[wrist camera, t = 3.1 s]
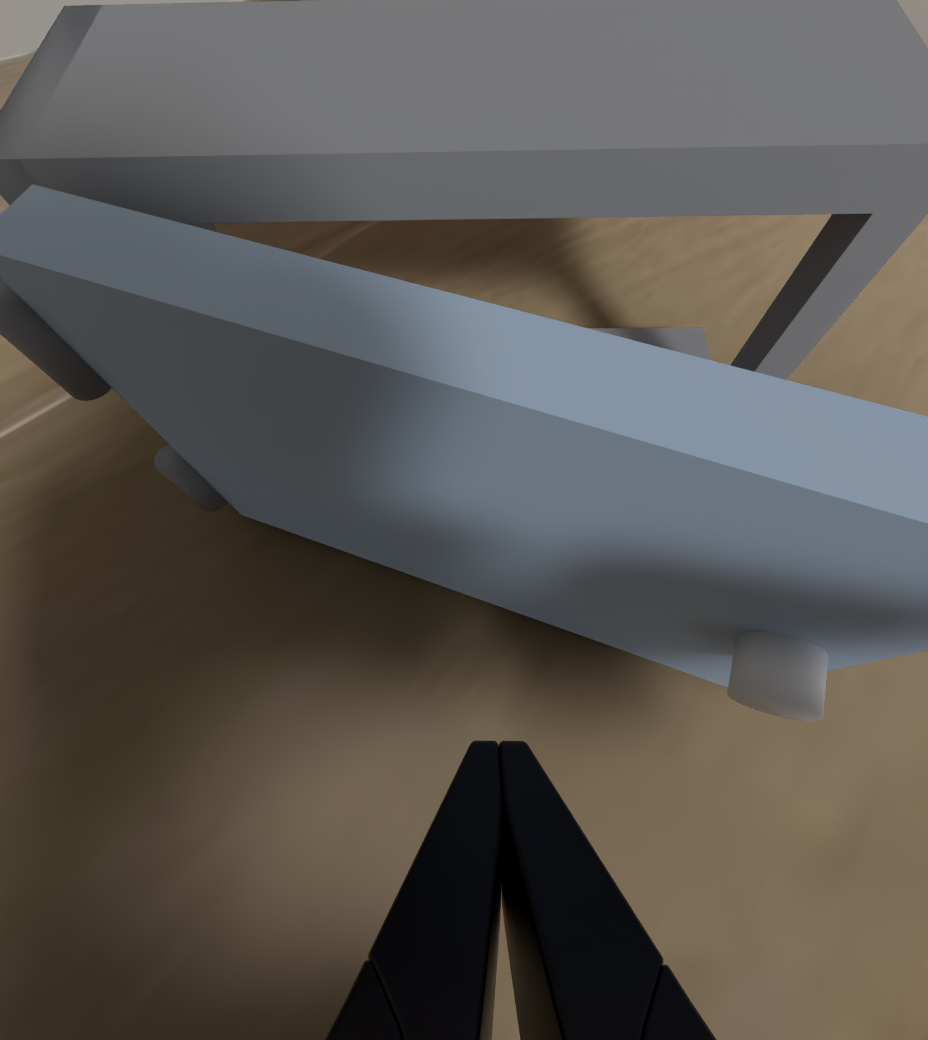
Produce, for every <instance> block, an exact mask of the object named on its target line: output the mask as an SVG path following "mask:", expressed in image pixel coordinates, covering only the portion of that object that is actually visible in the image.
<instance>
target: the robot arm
mask: <svg viewBox="0 0 928 1040" xmlns="http://www.w3.org/2000/svg"><path fill="white" fill-rule="evenodd" d="M501 893H502V907H503V916H504V924H505V932H506V939H507V946H508V953H509V960H510V968H511V975H512V982H513V989H514V996H515V1003H516V1011H517V1018H518V1025H519V1032H520V1039H521V1040H716V1038H715V1037H714V1035H713V1034H712V1032H711V1031H710V1029H709V1028H708V1026H707V1025H706V1023H705V1022H704V1020H703V1019H702V1017H701V1016H700V1014H699V1013H698V1011H697V1010H696V1008H695V1007H694V1005H693V1004H692V1002H691V1001H690V999H689V998H688V996H687V995H686V993H685V991H684V990H683V988H682V987H681V985H680V983H679V982H678V980H677V979H676V977H675V976H674V974H673V972H672V971H671V969H670V968H669V966H667V965H663V957H662V956H661V954H660V952H659V951H658V949H657V948H656V946H655V945H654V943H653V941H652V940H651V938H650V937H649V935H648V934H647V932H646V930H645V929H644V927H643V926H642V924H641V923H640V921H639V919H638V918H637V916H636V915H635V913H634V912H633V910H632V908H631V907H630V905H629V904H628V902H627V901H626V899H625V897H624V896H623V894H622V893H621V891H620V889H619V888H618V886H617V885H616V883H615V882H614V880H613V878H612V877H611V875H610V874H609V872H608V871H607V869H606V867H605V866H604V864H603V863H602V861H601V860H600V858H599V856H598V855H597V853H596V852H595V850H594V849H593V847H592V845H591V844H590V842H589V841H588V839H587V837H586V836H585V834H584V833H583V831H582V830H581V828H580V826H579V825H578V823H577V822H576V820H575V819H574V817H573V815H572V814H571V812H570V811H569V809H568V808H567V806H566V804H565V803H564V801H563V800H562V798H561V797H560V795H559V793H558V792H557V790H556V789H555V787H554V786H553V784H552V782H551V781H550V779H549V778H548V776H547V774H546V773H545V771H544V770H543V768H542V767H541V765H540V763H539V762H538V760H537V759H536V757H535V756H534V754H533V752H532V751H531V749H530V748H529V746H528V745H527V744H526V743H525V742H523V741H502V742H500V744H499V746H498V743H497V742H496V741H473V742H472V743H471V744H470V746H469V748H468V750H467V752H466V754H465V756H464V758H463V760H462V762H461V764H460V766H459V768H458V770H457V772H456V775H455V777H454V779H453V781H452V783H451V785H450V787H449V789H448V791H447V793H446V795H445V797H444V799H443V801H442V803H441V805H440V808H439V810H438V812H437V814H436V816H435V818H434V820H433V822H432V824H431V826H430V828H429V830H428V832H427V834H426V836H425V838H424V841H423V843H422V845H421V847H420V849H419V851H418V853H417V855H416V857H415V859H414V861H413V863H412V865H411V867H410V869H409V871H408V874H407V876H406V878H405V880H404V882H403V884H402V886H401V888H400V890H399V892H398V894H397V896H396V898H395V900H394V902H393V904H392V907H391V909H390V911H389V913H388V915H387V917H386V919H385V921H384V923H383V925H382V927H381V929H380V931H379V933H378V935H377V937H376V940H375V942H374V944H373V946H372V948H371V950H370V952H369V955H368V958H369V960H366V961H365V962H364V964H363V966H362V968H361V970H360V972H359V974H358V976H357V978H356V980H355V982H354V984H353V986H352V988H351V990H350V992H349V994H348V996H347V998H346V1000H345V1002H344V1004H343V1006H342V1008H341V1010H340V1012H339V1014H338V1016H337V1018H336V1020H335V1022H334V1023H333V1025H332V1027H331V1029H330V1031H329V1033H328V1035H327V1037H326V1039H325V1040H491V1039H492V1025H493V1011H494V998H495V984H496V970H497V956H498V942H499V929H500V910H501Z"/></svg>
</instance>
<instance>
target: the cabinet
mask: <svg viewBox="0 0 928 1040" xmlns="http://www.w3.org/2000/svg"><path fill="white" fill-rule="evenodd" d="M32 184H33V185H37V186H41V187H45V188H49V189H52V190H56V191H60V192H64V193H68V194H72V195H75V196H79V197H83V198H87V199H91V200H95V201H99V202H102V203H106V204H110V205H114V206H118V207H122V208H126V209H129V210H133V211H137V212H141V213H145V214H149V215H153V216H156V217H160V218H164V219H168V220H172V221H176V222H179V223H183V224H187V225H191V226H195V227H199V228H203V229H206V230H210V231H214V232H216V230H215V228H214V226H213V224H212V223H242V222H312V221H382V220H452V219H521V218H591V217H661V216H731V215H801V214H832V215H831V217H830V218H829V220H828V221H827V223H826V224H825V226H824V227H823V229H822V230H821V232H820V233H819V235H818V236H817V238H816V239H815V241H814V242H813V244H812V245H811V247H810V248H809V250H808V251H807V253H806V254H805V256H804V257H803V258H802V260H801V261H800V263H799V264H798V266H797V267H796V269H795V270H794V272H793V273H792V275H791V276H790V278H789V279H788V281H787V282H786V284H785V285H784V287H783V288H782V290H781V291H780V293H779V294H778V296H777V297H776V299H775V300H774V301H773V303H772V304H771V306H770V307H769V309H768V310H767V312H766V313H765V315H764V316H763V318H762V319H761V321H760V322H759V324H758V325H757V327H756V328H755V330H754V331H753V333H752V334H751V336H750V337H749V339H748V340H747V342H746V343H745V345H744V346H743V347H742V349H741V350H740V352H739V353H738V355H737V356H736V358H735V359H734V361H733V362H732V364H731V365H730V366H734V367H738V368H742V369H746V370H750V371H753V372H757V373H761V374H765V375H769V376H773V377H777V378H780V379H784V380H786V379H787V378H788V377H789V376H790V374H791V373H792V372H793V371H794V370H795V369H796V367H797V366H798V365H799V364H800V363H801V362H802V360H803V359H804V358H805V357H806V356H807V354H808V353H809V352H810V351H811V350H812V349H813V347H814V346H815V345H816V344H817V343H818V342H819V340H820V339H821V338H822V337H823V336H824V335H825V333H826V332H827V331H828V330H829V329H830V328H831V326H832V325H833V324H834V323H835V322H836V320H837V319H838V318H839V317H840V316H841V315H842V313H843V312H844V311H845V310H846V309H847V308H848V306H849V305H850V304H851V303H852V302H853V301H854V299H855V298H856V297H857V296H858V295H859V293H860V292H861V291H862V290H863V289H864V288H865V286H866V285H867V284H868V283H869V282H870V281H871V279H872V278H873V277H874V276H875V275H876V274H877V272H878V271H879V270H880V269H881V268H882V267H883V265H884V264H885V263H886V262H887V261H888V259H889V258H890V257H891V256H892V255H893V254H894V252H895V251H896V250H897V249H898V248H899V247H900V245H901V244H902V243H903V242H904V241H905V240H906V238H907V237H908V236H909V235H910V234H911V233H912V231H913V230H914V229H915V228H916V227H917V225H918V224H919V223H920V222H921V221H922V220H923V218H924V217H925V216H926V215H927V214H928V48H927V47H926V45H925V44H924V42H923V41H922V39H921V38H920V36H919V34H918V33H917V31H916V30H915V28H914V27H913V25H912V23H911V22H910V20H909V19H908V17H907V16H906V14H905V13H904V11H903V9H902V8H901V6H900V5H899V3H898V2H897V0H302V1H258V2H217V3H216V2H214V3H172V4H171V3H170V4H129V5H128V4H127V5H84V6H64V7H63V9H62V10H61V12H60V14H59V15H58V17H57V19H56V20H55V22H54V24H53V25H52V27H51V29H50V30H49V32H48V33H47V35H46V37H45V39H44V40H43V42H42V43H41V45H40V47H39V48H38V50H37V51H36V53H35V55H34V56H33V58H32V60H31V61H30V63H29V65H28V66H27V68H26V70H25V71H24V73H23V75H22V76H21V78H20V79H19V81H18V83H17V84H16V86H15V88H14V89H13V91H12V93H11V94H10V96H9V98H8V99H7V101H6V102H5V104H4V106H3V107H2V109H1V111H0V194H1V196H2V197H3V198H4V199H5V200H6V201H7V203H8V204H9V205H11V204H12V203H13V202H14V201H15V200H16V199H17V198H18V197H19V196H21V195H22V194H23V193H24V192H25V191H26V190H27V189H28V188H29V187H30V186H31V185H32ZM588 329H592V330H595V331H599V332H603V333H607V334H611V335H615V336H619V337H622V338H626V339H630V340H634V341H638V342H642V343H646V344H649V345H653V346H657V347H661V348H665V349H669V350H673V351H676V352H680V353H684V354H688V355H692V356H696V357H699V358H703V359H707V360H710V357H709V353H708V348H707V344H706V340H705V336H704V331H703V327H685V328H588Z"/></svg>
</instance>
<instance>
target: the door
mask: <svg viewBox="0 0 928 1040" xmlns="http://www.w3.org/2000/svg"><path fill="white" fill-rule="evenodd" d="M0 334H1V335H2V336H3V337H4V338H6V339H7V340H8V341H9V342H10V343H11V344H13V345H14V346H15V347H16V348H17V349H18V350H19V351H21V352H22V353H23V354H24V355H25V356H26V357H28V358H29V359H30V360H31V361H32V362H33V363H34V364H36V365H37V366H38V367H39V368H40V369H41V370H43V371H44V372H45V373H46V374H47V375H48V376H49V377H51V378H52V379H53V380H54V381H55V382H56V383H58V384H59V385H60V386H61V387H62V388H63V389H64V390H66V391H67V392H68V393H69V394H70V395H71V396H73V397H74V398H75V399H78V400H83V401H88V400H93V399H97V398H99V397H101V396H103V395H104V394H106V393H107V392H108V391H109V390H110V389H111V388H113V389H114V390H115V391H116V392H117V393H118V394H119V395H120V396H121V397H122V398H123V399H124V400H125V401H126V402H127V403H128V404H129V405H130V406H131V407H132V408H133V409H134V410H135V411H136V412H137V413H138V414H139V415H140V416H141V417H142V418H143V419H144V420H145V421H146V422H147V423H148V424H149V425H150V426H151V427H152V428H153V429H154V430H155V431H156V432H157V433H158V434H159V435H160V436H161V437H162V438H164V439H165V440H166V441H167V442H168V443H169V444H166V445H165V446H163V447H162V448H161V449H160V450H159V451H158V452H157V453H156V455H155V458H154V465H155V467H156V469H157V470H158V471H159V472H160V473H161V474H163V475H164V476H165V477H166V478H167V479H168V480H170V481H171V482H172V483H173V484H174V485H175V486H176V487H178V488H179V489H180V490H181V491H182V492H183V493H185V494H186V495H187V496H188V497H189V498H190V499H191V500H193V501H194V502H195V503H196V504H197V505H198V506H200V507H201V508H202V509H203V510H206V511H216V510H219V509H221V508H222V507H223V506H225V505H226V503H227V502H229V503H230V504H231V505H232V506H233V507H234V508H235V509H236V510H237V511H238V512H239V513H240V514H241V515H243V516H246V517H249V518H252V519H254V520H257V521H260V522H263V523H266V524H268V525H271V526H274V527H277V528H280V529H283V530H285V531H288V532H291V533H294V534H297V535H299V536H302V537H305V538H308V539H311V540H313V541H316V542H319V543H322V544H325V545H328V546H330V547H333V548H336V549H339V550H342V551H344V552H347V553H350V554H353V555H356V556H359V557H361V558H364V559H367V560H370V561H373V562H375V563H378V564H381V565H384V566H387V567H390V568H392V569H395V570H398V571H401V572H404V573H406V574H409V575H412V576H415V577H418V578H421V579H423V580H426V581H429V582H432V583H435V584H437V585H440V586H443V587H446V588H449V589H452V590H454V591H457V592H460V593H463V594H466V595H468V596H471V597H474V598H477V599H480V600H482V601H485V602H488V603H491V604H494V605H497V606H499V607H502V608H505V609H508V610H511V611H513V612H516V613H519V614H522V615H525V616H528V617H530V618H533V619H536V620H539V621H542V622H544V623H547V624H550V625H553V626H556V627H559V628H561V629H564V630H567V631H570V632H573V633H575V634H578V635H581V636H584V637H587V638H590V639H592V640H595V641H598V642H601V643H604V644H606V645H609V646H612V647H615V648H618V649H621V650H623V651H626V652H629V653H632V654H635V655H637V656H640V657H643V658H646V659H649V660H652V661H654V662H657V663H660V664H663V665H666V666H668V667H671V668H674V669H677V670H680V671H682V672H685V673H688V674H691V675H694V676H697V677H699V678H702V679H705V680H708V681H711V682H713V683H716V684H719V685H722V686H725V687H728V692H727V695H728V696H729V697H730V698H731V699H733V700H735V701H736V702H738V703H740V704H743V705H745V706H747V707H750V708H753V709H756V710H759V711H762V712H765V713H769V714H772V715H776V716H780V717H785V718H790V719H796V720H803V721H819V720H822V719H823V709H824V698H825V687H826V676H827V671H831V670H835V669H840V668H845V667H850V666H855V665H859V664H864V663H869V662H874V661H878V660H883V659H888V658H893V657H898V656H902V655H907V654H912V653H917V652H922V651H926V650H928V417H927V416H923V415H919V414H915V413H911V412H907V411H904V410H900V409H896V408H892V407H888V406H884V405H881V404H877V403H873V402H869V401H865V400H861V399H857V398H854V397H850V396H846V395H842V394H838V393H834V392H830V391H827V390H823V389H819V388H815V387H811V386H807V385H803V384H800V383H796V382H792V381H788V380H784V379H780V378H777V377H773V376H769V375H765V374H761V373H757V372H753V371H750V370H746V369H742V368H738V367H734V366H730V365H726V364H723V363H719V362H715V361H711V360H707V359H703V358H699V357H696V356H692V355H688V354H684V353H680V352H676V351H673V350H669V349H665V348H661V347H657V346H653V345H649V344H646V343H642V342H638V341H634V340H630V339H626V338H622V337H619V336H615V335H611V334H607V333H603V332H599V331H595V330H592V329H588V328H584V327H580V326H576V325H572V324H569V323H565V322H561V321H557V320H553V319H549V318H545V317H542V316H538V315H534V314H530V313H526V312H522V311H518V310H515V309H511V308H507V307H503V306H499V305H495V304H491V303H488V302H484V301H480V300H476V299H472V298H468V297H465V296H461V295H457V294H453V293H449V292H445V291H441V290H438V289H434V288H430V287H426V286H422V285H418V284H414V283H411V282H407V281H403V280H399V279H395V278H391V277H387V276H384V275H380V274H376V273H372V272H368V271H364V270H361V269H357V268H353V267H349V266H345V265H341V264H337V263H334V262H330V261H326V260H322V259H318V258H314V257H310V256H307V255H303V254H299V253H295V252H291V251H287V250H283V249H280V248H276V247H272V246H268V245H264V244H260V243H257V242H253V241H249V240H245V239H241V238H237V237H233V236H230V235H226V234H222V233H218V232H214V231H210V230H206V229H203V228H199V227H195V226H191V225H187V224H183V223H179V222H176V221H172V220H168V219H164V218H160V217H156V216H153V215H149V214H145V213H141V212H137V211H133V210H129V209H126V208H122V207H118V206H114V205H110V204H106V203H102V202H99V201H95V200H91V199H87V198H83V197H79V196H75V195H72V194H68V193H64V192H60V191H56V190H52V189H49V188H45V187H41V186H37V185H33V184H32V185H31V186H30V187H29V188H28V189H27V190H26V191H25V192H24V193H23V194H22V195H21V196H19V197H18V198H17V199H16V200H15V201H14V202H13V203H12V204H11V205H10V206H9V207H8V208H7V209H6V210H5V211H4V212H3V213H2V214H0Z"/></svg>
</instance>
